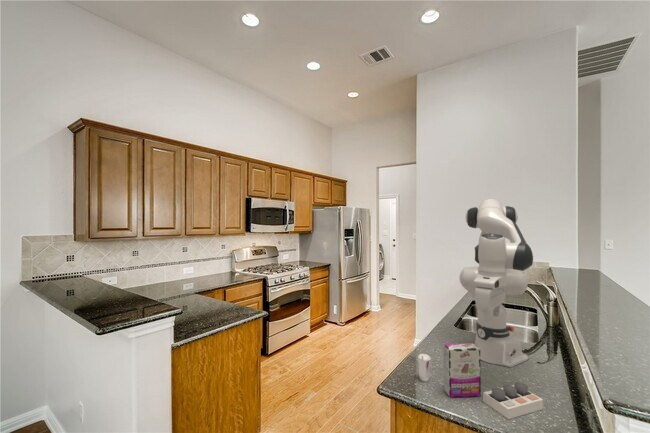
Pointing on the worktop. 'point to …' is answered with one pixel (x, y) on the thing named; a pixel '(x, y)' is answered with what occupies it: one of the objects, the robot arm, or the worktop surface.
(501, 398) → the button
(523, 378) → the worktop surface
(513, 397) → the button middle
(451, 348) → the candy bar box
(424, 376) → the milkshake
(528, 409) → the button board
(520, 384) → the button
